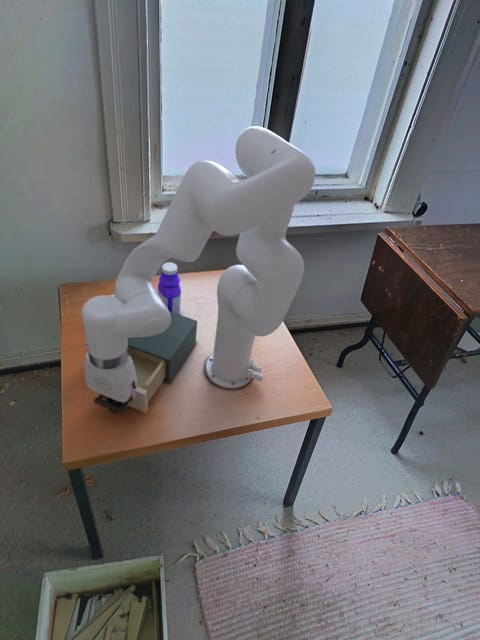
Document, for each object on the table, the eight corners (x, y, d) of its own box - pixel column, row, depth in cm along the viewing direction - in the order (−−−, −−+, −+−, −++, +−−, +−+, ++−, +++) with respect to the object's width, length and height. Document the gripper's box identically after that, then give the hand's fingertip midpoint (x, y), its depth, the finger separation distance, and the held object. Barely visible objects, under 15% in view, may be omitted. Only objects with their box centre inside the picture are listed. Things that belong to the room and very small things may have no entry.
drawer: (134, 429, 90) (133, 411, 85) (84, 408, 92) (80, 390, 88) (174, 369, 104) (175, 351, 99) (130, 352, 106) (128, 334, 102)
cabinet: (169, 383, 102) (169, 360, 96) (120, 364, 104) (117, 340, 98) (195, 343, 113) (197, 320, 107) (150, 327, 115) (150, 304, 110)
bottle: (183, 319, 120) (185, 271, 108) (165, 325, 117) (166, 276, 105) (172, 304, 124) (173, 256, 112) (154, 310, 121) (153, 261, 109)
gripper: (64, 351, 79) (77, 407, 91) (131, 378, 76) (135, 432, 88) (88, 328, 84) (97, 383, 97) (151, 352, 82) (153, 406, 94)
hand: (115, 406), depth 92 cm, fingers closed
